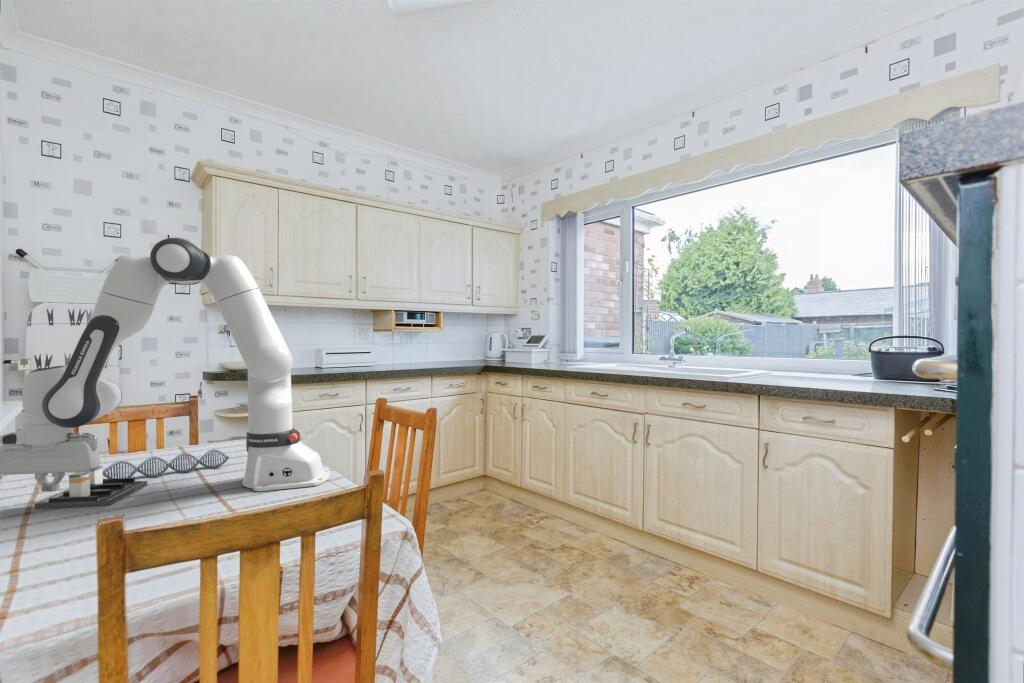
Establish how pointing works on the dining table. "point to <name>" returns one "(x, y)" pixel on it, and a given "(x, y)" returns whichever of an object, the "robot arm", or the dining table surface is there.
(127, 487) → the panel
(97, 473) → the handle
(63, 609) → the dining table surface
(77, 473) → the white rectangular block
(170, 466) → the decorative sculpture
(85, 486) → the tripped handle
